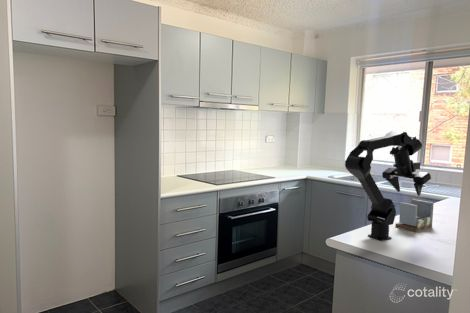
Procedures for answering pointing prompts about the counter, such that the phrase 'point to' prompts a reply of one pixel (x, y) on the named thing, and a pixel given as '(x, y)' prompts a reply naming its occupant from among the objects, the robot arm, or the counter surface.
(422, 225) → the gauge frame
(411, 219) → the pale blue shelf board
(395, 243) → the counter surface
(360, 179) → the robot arm
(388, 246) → the counter surface
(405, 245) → the counter surface
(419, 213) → the brushed steel plate
